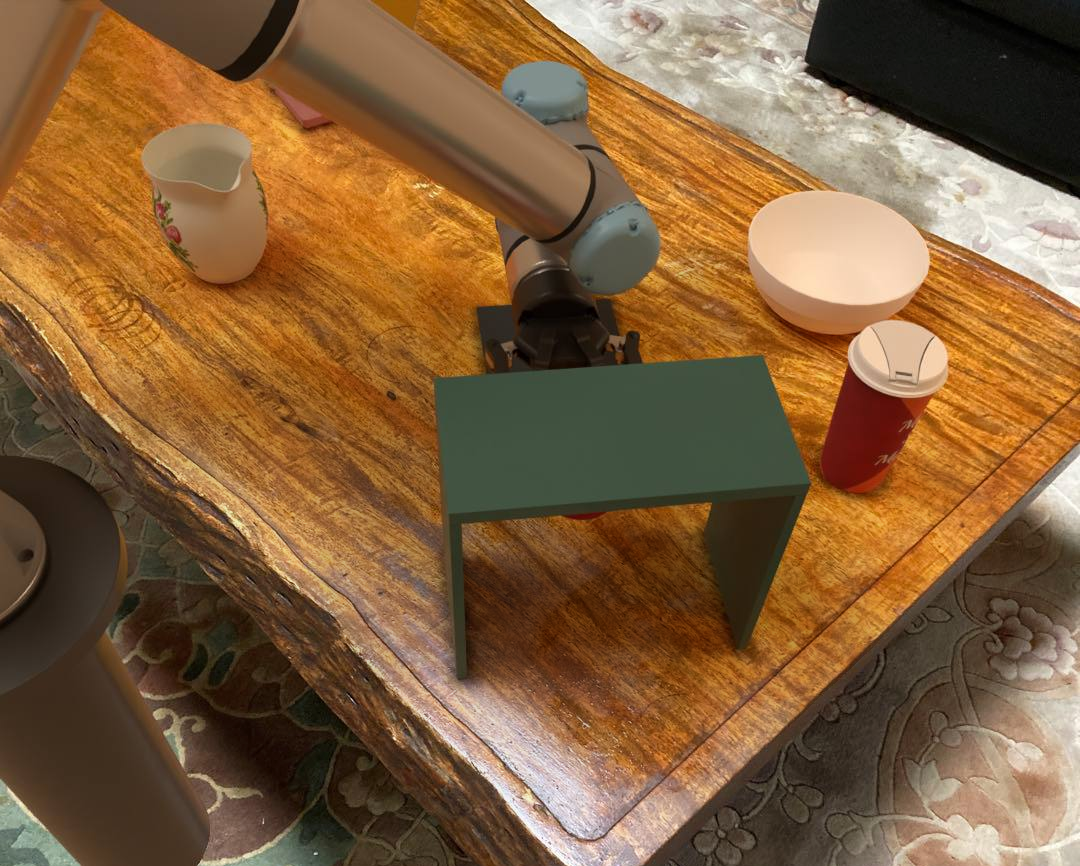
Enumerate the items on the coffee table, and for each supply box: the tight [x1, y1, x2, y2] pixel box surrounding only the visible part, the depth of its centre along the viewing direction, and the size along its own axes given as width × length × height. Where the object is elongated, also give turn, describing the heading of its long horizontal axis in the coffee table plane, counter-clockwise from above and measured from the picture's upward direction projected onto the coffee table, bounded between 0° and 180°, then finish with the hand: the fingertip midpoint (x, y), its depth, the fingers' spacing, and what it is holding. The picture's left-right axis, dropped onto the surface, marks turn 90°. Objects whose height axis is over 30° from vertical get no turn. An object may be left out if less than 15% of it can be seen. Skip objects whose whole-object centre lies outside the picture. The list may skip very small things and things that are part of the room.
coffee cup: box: [819, 319, 950, 494], centre depth 90 cm, size 8×8×15 cm
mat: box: [476, 298, 622, 374], centre depth 104 cm, size 14×14×1 cm
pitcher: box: [141, 122, 269, 285], centre depth 105 cm, size 11×18×14 cm, turn 34°
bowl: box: [747, 190, 931, 335], centre depth 107 cm, size 18×18×7 cm
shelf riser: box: [433, 354, 812, 680], centre depth 78 cm, size 12×24×21 cm, turn 98°
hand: (593, 496), depth 80 cm, fingers closed on beverage can, 6 cm apart
